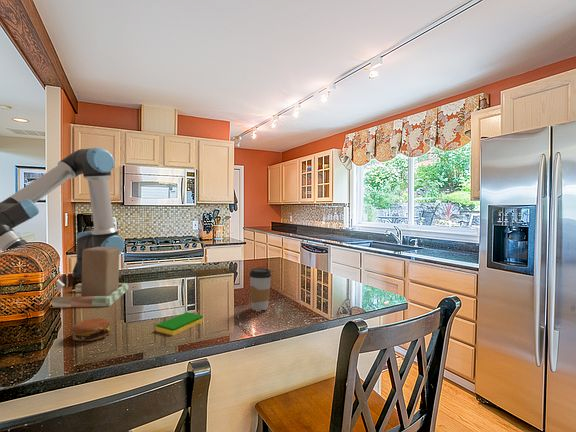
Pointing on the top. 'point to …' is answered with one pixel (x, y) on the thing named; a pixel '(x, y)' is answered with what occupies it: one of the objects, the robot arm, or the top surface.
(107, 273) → the block
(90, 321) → the burger
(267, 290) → the coffee cup
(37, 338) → the top surface
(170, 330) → the dish sponge
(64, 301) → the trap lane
